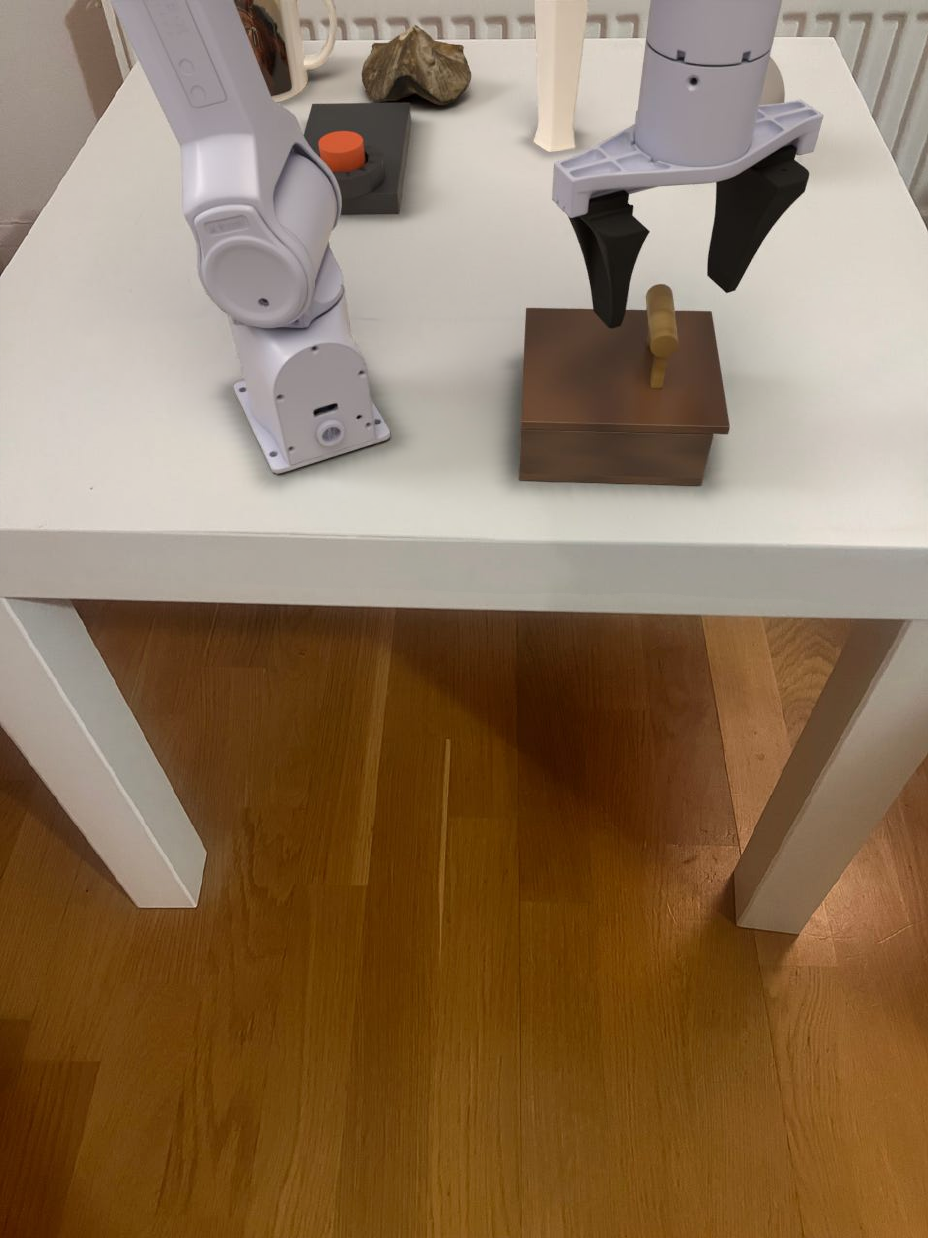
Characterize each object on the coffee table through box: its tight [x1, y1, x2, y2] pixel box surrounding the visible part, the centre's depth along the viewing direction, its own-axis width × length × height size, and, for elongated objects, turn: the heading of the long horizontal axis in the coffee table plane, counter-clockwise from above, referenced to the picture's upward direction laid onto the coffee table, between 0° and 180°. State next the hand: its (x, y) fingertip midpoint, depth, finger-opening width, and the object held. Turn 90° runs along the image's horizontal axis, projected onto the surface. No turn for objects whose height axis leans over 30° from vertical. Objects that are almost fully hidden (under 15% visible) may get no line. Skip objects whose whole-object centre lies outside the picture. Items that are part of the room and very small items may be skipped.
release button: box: [319, 131, 365, 172], centre depth 76 cm, size 4×4×2 cm
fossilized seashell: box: [361, 24, 472, 106], centre depth 88 cm, size 8×7×10 cm
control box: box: [303, 102, 412, 216], centre depth 81 cm, size 17×9×4 cm, turn 178°
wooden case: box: [518, 428, 715, 486], centre depth 60 cm, size 11×11×4 cm
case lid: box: [520, 283, 731, 435], centre depth 56 cm, size 12×11×4 cm
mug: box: [233, 0, 338, 103], centre depth 88 cm, size 10×12×11 cm
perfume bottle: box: [533, 0, 590, 153], centre depth 78 cm, size 5×4×15 cm
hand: (665, 300), depth 54 cm, fingers open, 7 cm apart
